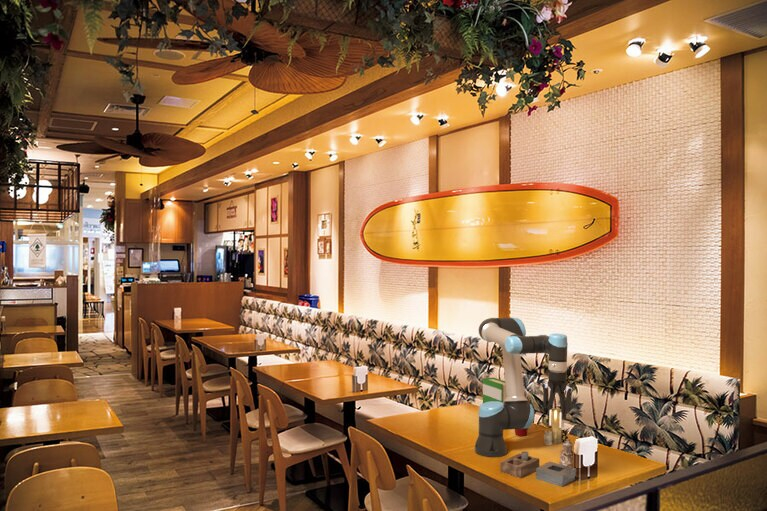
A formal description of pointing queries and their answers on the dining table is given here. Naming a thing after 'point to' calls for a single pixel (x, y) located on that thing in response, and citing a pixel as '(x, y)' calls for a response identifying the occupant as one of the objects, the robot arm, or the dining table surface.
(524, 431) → the plastic cup
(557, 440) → the translucent yellow cylinder
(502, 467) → the box
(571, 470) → the socket block
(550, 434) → the valve
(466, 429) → the dining table surface
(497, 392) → the hardback book
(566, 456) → the figurine
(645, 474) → the dining table surface
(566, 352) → the robot arm
